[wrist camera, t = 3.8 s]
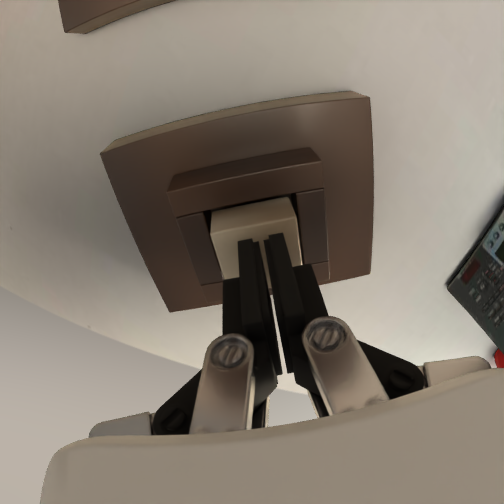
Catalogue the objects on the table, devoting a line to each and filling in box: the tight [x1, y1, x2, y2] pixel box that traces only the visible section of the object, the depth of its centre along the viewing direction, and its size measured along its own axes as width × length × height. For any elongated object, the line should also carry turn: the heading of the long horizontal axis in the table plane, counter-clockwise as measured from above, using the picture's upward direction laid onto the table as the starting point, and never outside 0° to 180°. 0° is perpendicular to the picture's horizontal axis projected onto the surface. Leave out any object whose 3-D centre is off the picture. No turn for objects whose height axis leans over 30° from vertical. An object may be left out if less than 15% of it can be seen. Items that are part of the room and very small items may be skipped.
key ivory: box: [210, 197, 302, 288], centre depth 13 cm, size 3×3×2 cm
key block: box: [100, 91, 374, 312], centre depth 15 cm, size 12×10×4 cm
